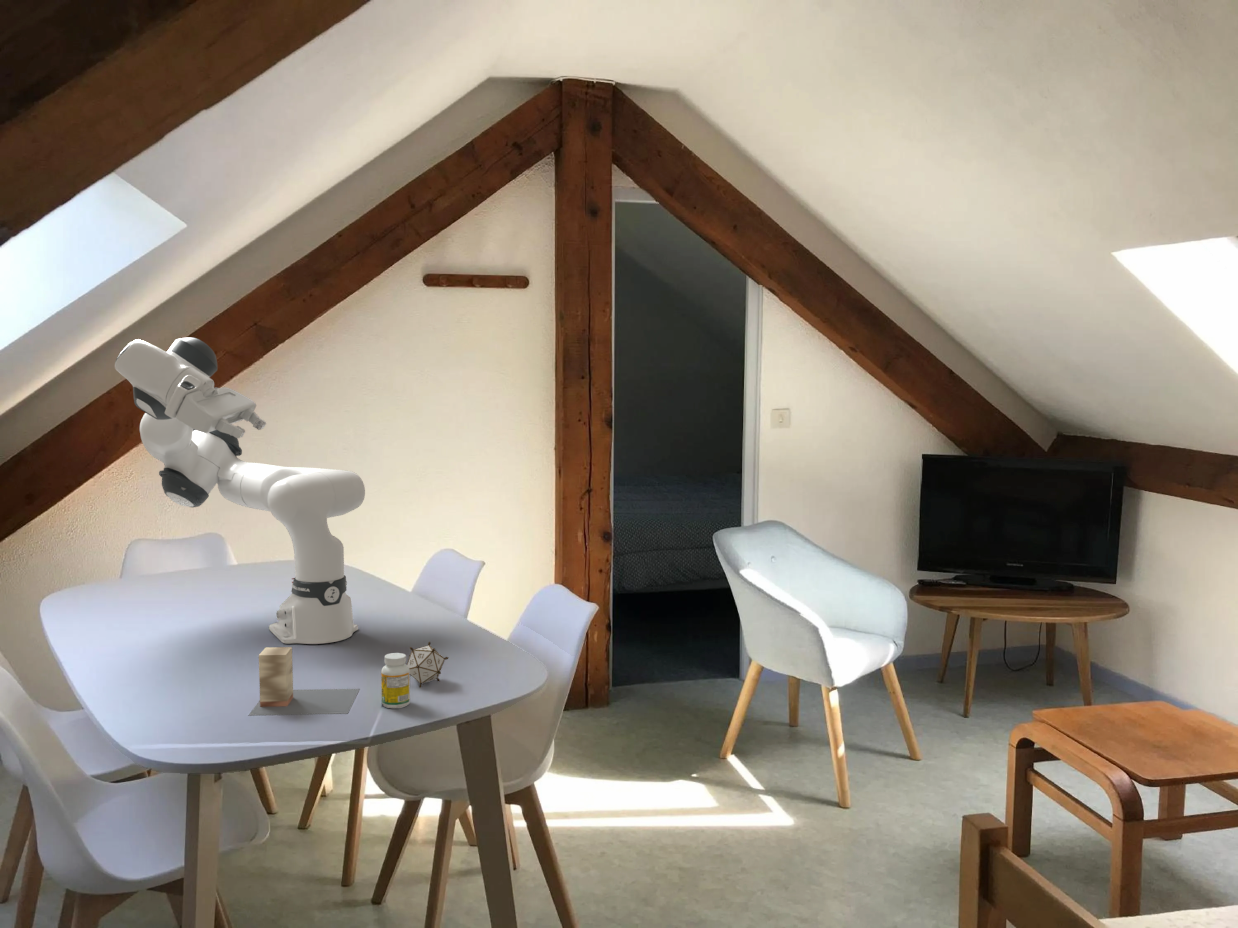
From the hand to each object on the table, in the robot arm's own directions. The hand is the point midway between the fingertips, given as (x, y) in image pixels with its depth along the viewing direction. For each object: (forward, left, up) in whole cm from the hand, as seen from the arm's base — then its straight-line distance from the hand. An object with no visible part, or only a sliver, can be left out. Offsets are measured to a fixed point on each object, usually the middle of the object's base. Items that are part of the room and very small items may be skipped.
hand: (253, 430), depth 208 cm
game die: (+23, +25, -52) cm, 62 cm away
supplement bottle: (+30, +14, -52) cm, 61 cm away
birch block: (+16, -4, -51) cm, 53 cm away
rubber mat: (+19, +1, -51) cm, 55 cm away
